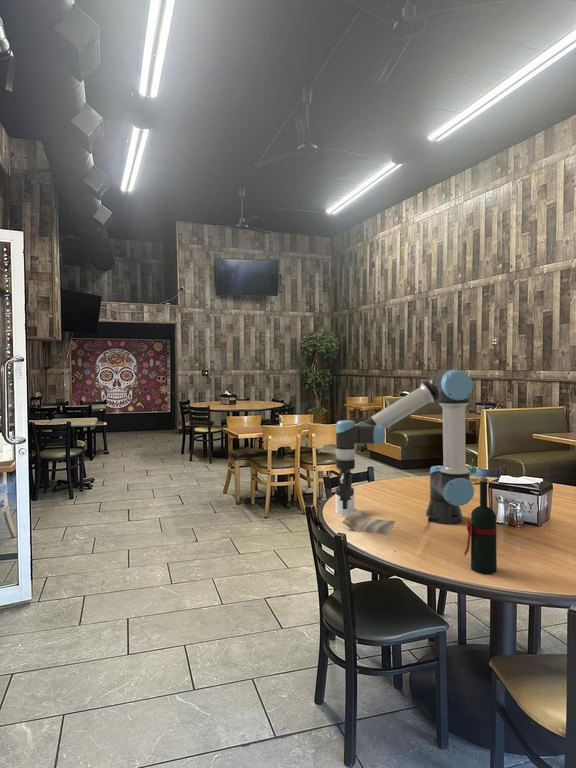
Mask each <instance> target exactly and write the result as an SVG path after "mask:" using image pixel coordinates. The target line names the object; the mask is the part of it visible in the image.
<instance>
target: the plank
mask: <svg viewBox="0 0 576 768" xmlns="http://www.w3.org/2000/svg"><path fill="white" fill-rule="evenodd" d="M371 519H372V518H370V517H369V516H368V515H367V514H364V513H363V512H362V511H360V510H358V509H356V508H355V507H354V510H353V511H352V512H351V513H350V514H349V517H344V519H343V521H342V522H341V523H342V524H343V525H345V526H346V527H348V528H350V529H351V530H352V531H354V532H360V533H361V532H362V531H363V530H364V528H365V527H366V526H367V524H368V523H369V522H370V520H371Z"/></svg>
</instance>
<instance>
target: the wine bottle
mask: <svg viewBox="0 0 576 768" xmlns="http://www.w3.org/2000/svg"><path fill="white" fill-rule="evenodd" d="M479 479H480V480H481V481H480V483H479V506H476V507H474V509H473V510H472V511H471V515H470V516H471V517H470V519H471V520H470V521H469V520H467V526H466V531H467V534H468V535H467V542H466V548H465V551H464V552H463V555H464V557H466V556H467V553H468V552H469V550H470V569H471V570H472V571H473V572H474V573H477V572H478V573H477V574H480V573H482V574H481V575H487V574H489V575H493V574H492V573H495V572H496V571H497V570H498V569H497V568H498V567H497V566H498V565H497V564H498V563H497V561H498V560H497V515H496V513H495V511H494V510H493V509H492V508H491V507H489V506H488V483H487V479H488V477H487V478H486V477H483V476H479ZM497 572H498V571H497ZM497 572H496V573H497ZM496 573H495V574H496Z"/></svg>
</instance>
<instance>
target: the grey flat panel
mask: <svg viewBox="0 0 576 768" xmlns="http://www.w3.org/2000/svg"><path fill="white" fill-rule="evenodd" d="M396 522H397V521H396V520H388V519H378V518H371V519H370V520H369V522H368V523H367V524H366V526H365V527H364V528H363V530H362V531H361V532H362V533H368V534H369V533H370V534H375V535H376V534H377V535H378V534H379V535H384V536H385V535H387V536H389V534H390V532H391V531H392V529H393V527H394V525H395V523H396Z"/></svg>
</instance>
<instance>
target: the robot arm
mask: <svg viewBox="0 0 576 768" xmlns="http://www.w3.org/2000/svg"><path fill="white" fill-rule="evenodd" d="M473 387H474V384H473V381H472V378H471V377H470V375H468V374H467V373H466V372H464V371H461V370H458V369H451V370H450V369H444V370H441V371H439V372H436V373H435V374H434V375H432V376H431V377H430V378H428V379H426V380H425V381H423V382H421V383H420V385H419V387H418V388H416V389H415V390H413V391H411V392H410V393H408V394H406V395H404V396H403V397H401V398H400V399H398V400H397V401H394V402H393V403H391V404H390V405H389V406H386V407H385V408H384V409H382V410H380V411H378V412H377V413H375V414H373V415H372V416H370V417H369V418H367V419H366V420H361V421H359V422H358V423H356V422H355V421H354V420H351V419H349V420H347V419H346V420H345V419H343V420H338V421H336V424H335V425H336V426H335V428H336V429H335V443H336V444H335V445H336V446H335V447H336V449H335V450H334V451H335V454H336V459H335V464H336V465H335V468H336V469H338V470H340V473H339V477H338V485H339V486H338V487H339V488H340V501H342V514H341V517H344V518H346V517H349V500H351V498H350V497H351V487H352V482H353V481H352V480H353V479H352V478H353V472H351V470H354V469H355V468H356V461H355V458H356V445H382V444H384V443H385V440H386V431H385V429H387V428H389V427H391V426H392V425H395V424H397V422H399V421H401V420H402V419H404V418H406V417H408V416H409V415H411V414H412V413H414V412H416V411H417V410H419V409H420V408H422V407H424V406H425V405H427V404H429V403H435V402H437V401H438V404H439V406H440V407H441V408H442V451H443V452H442V454H443V455H442V458H443V459H442V460H443V461H442V462H443V463H442V464H443V465H433V466H431V467H430V468H429V501H428V502H429V503H428V506H427V509H426V511H425V515H426V517H427V518H428V521H430V522H432V523H437V524H443V525H444V524H446V525H447V524H448V525H454V524H459V523H462V522H463V513H462V509H461V506H465V505H467V504H468V503H470V502H471V501H472V499H473V498H474V495H475V488H474V486H473V485H474V484H472V483H471V482H470V478H471V476H470V475H471V473H470V471H469V470H468V469H467V468H468V467H467V466H466V464H467V463H466V461H467V460H466V459H467V457H466V407H467V406H468V405H469V404H470V395H471V394H472V392H473ZM355 423H356V424H355Z"/></svg>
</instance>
